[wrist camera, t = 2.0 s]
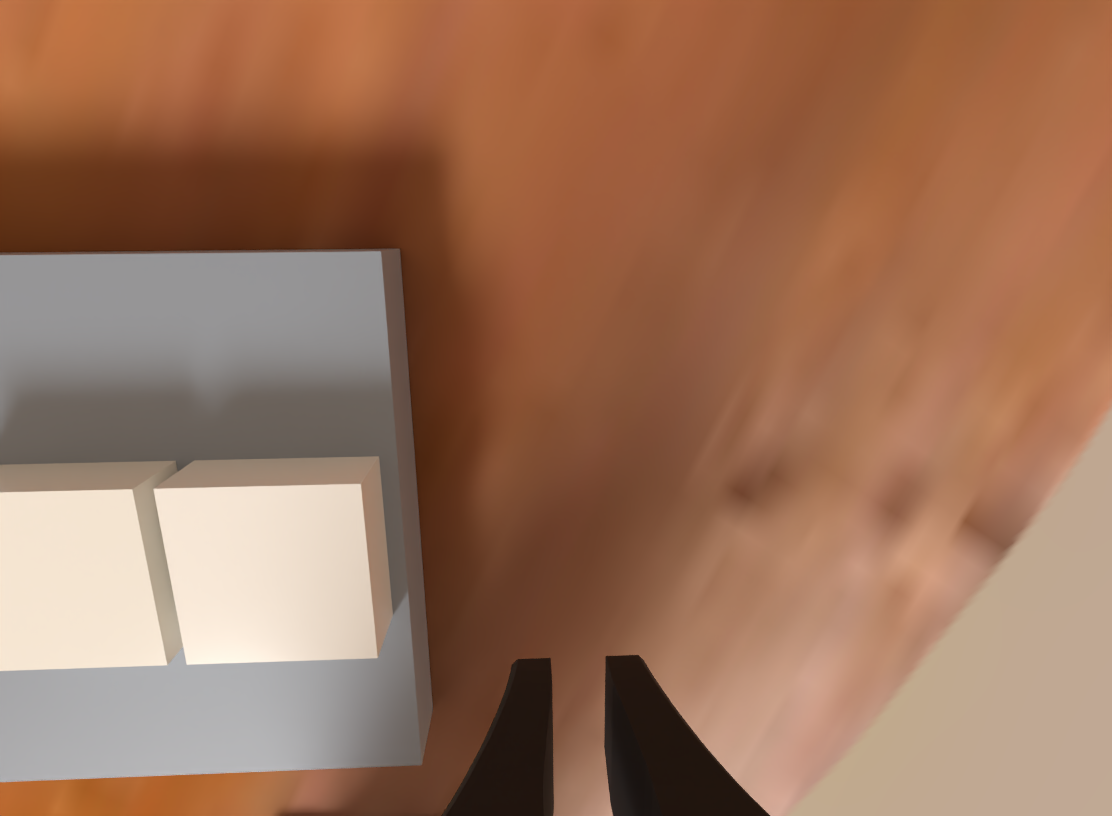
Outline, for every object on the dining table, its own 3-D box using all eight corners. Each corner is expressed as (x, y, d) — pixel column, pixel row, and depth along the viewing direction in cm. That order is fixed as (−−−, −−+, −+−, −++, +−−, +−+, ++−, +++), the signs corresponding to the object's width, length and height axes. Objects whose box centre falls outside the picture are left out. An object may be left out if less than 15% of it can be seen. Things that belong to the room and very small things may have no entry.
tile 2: (203, 620, 19) (167, 665, 17) (28, 626, 19) (-29, 671, 17) (175, 460, 18) (132, 489, 16) (-14, 465, 17) (-81, 494, 15)
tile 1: (392, 614, 19) (377, 658, 17) (221, 620, 19) (186, 664, 17) (379, 456, 18) (361, 483, 16) (194, 460, 18) (152, 488, 16)
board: (433, 708, 23) (421, 765, 21) (0, 725, 22) (-63, 784, 20) (400, 248, 19) (381, 251, 16) (-136, 253, 18) (-238, 257, 16)
